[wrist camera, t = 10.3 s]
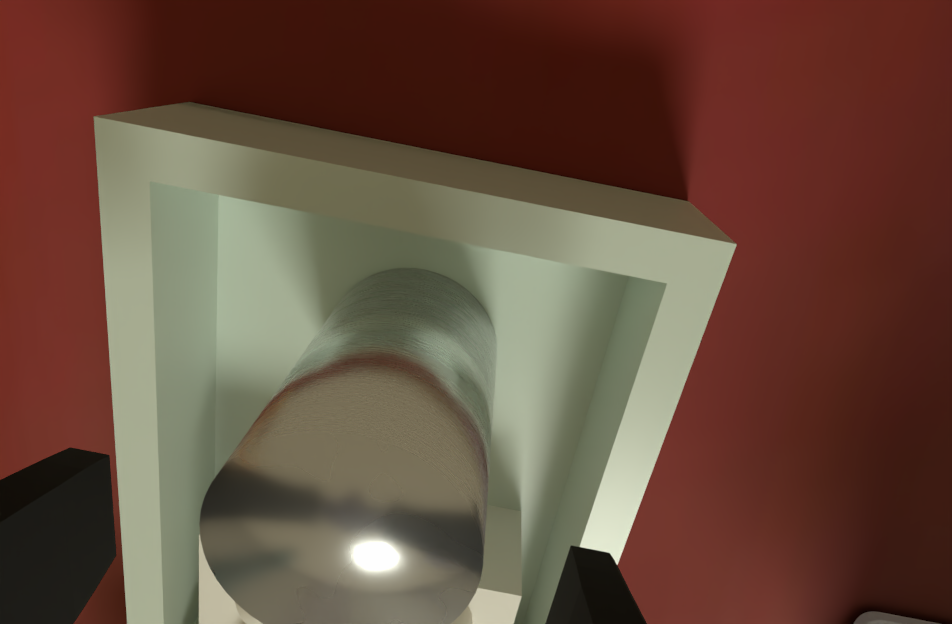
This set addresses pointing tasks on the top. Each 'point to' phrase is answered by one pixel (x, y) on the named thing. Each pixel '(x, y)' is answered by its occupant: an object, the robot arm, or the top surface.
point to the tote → (340, 268)
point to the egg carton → (481, 620)
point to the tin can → (366, 466)
